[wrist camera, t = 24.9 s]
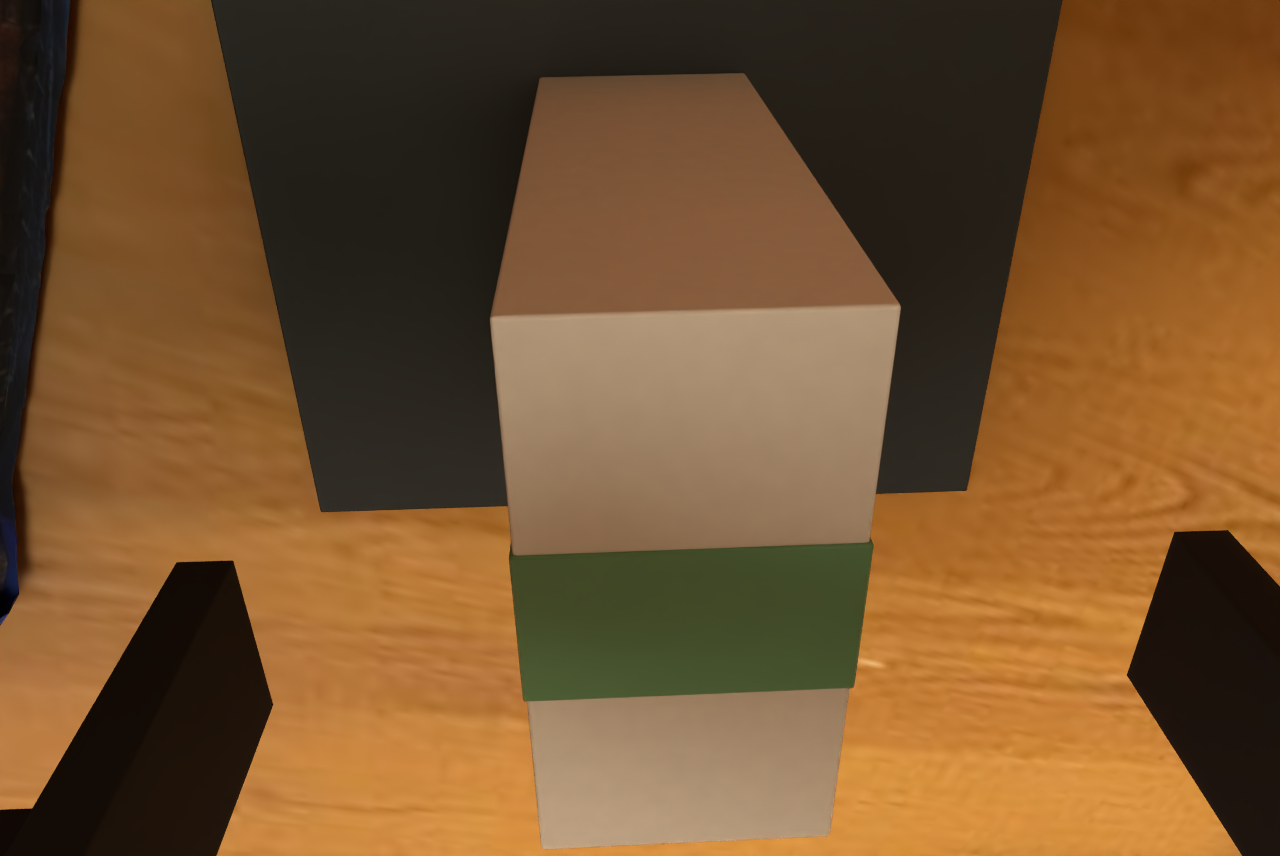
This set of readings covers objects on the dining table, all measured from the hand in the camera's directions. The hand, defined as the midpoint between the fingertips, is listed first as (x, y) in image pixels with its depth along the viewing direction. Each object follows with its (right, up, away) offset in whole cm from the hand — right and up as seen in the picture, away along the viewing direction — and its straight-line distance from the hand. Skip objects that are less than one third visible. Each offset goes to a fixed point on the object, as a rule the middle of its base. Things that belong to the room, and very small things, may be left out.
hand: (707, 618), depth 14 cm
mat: (-1, +8, +12) cm, 15 cm away
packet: (-1, +3, +6) cm, 7 cm away
